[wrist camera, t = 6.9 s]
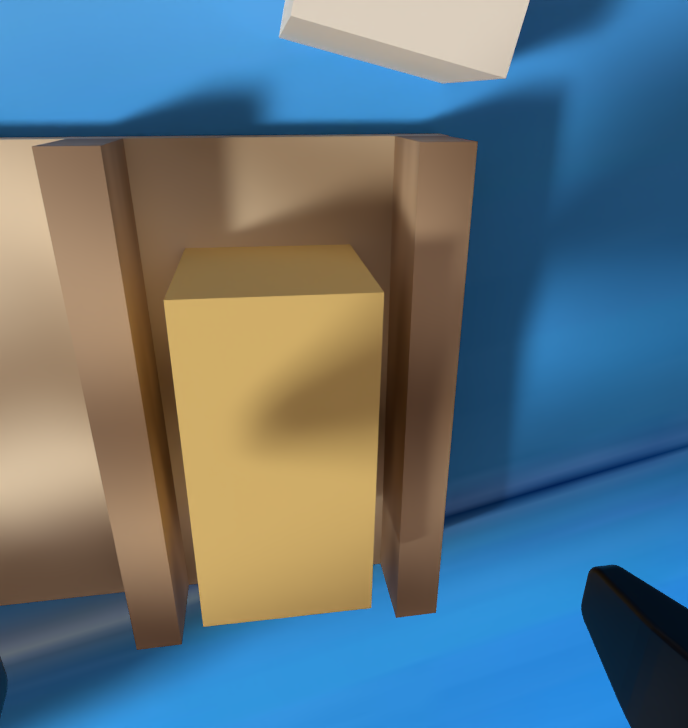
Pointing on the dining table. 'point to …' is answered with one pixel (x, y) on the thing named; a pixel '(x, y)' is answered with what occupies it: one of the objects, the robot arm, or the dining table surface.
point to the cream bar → (413, 34)
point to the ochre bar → (278, 425)
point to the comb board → (152, 355)
